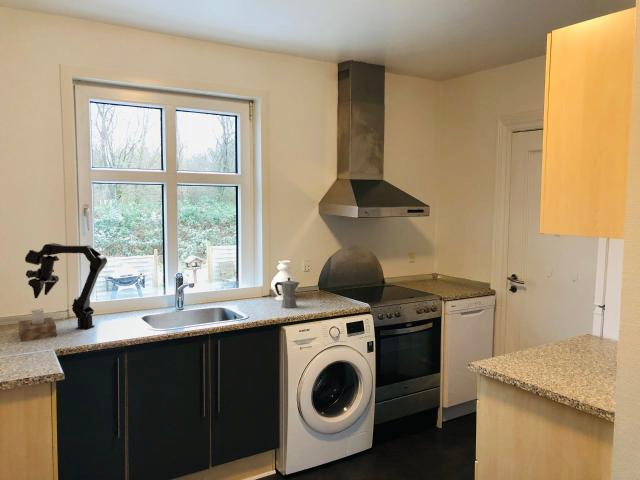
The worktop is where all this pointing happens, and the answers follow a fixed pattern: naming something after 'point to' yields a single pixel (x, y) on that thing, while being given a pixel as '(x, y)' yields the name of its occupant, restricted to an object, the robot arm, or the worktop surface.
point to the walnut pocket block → (37, 329)
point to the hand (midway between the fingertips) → (40, 296)
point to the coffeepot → (288, 293)
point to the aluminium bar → (37, 316)
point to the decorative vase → (282, 277)
